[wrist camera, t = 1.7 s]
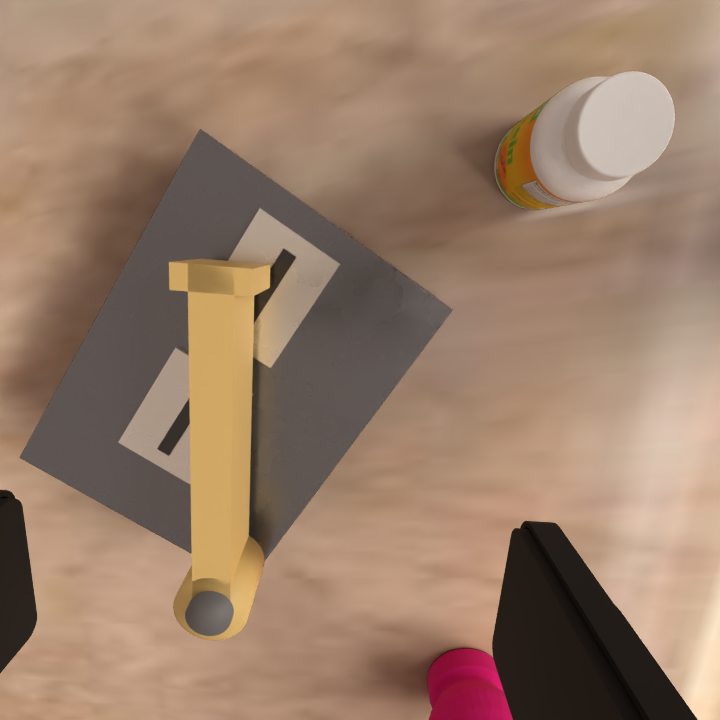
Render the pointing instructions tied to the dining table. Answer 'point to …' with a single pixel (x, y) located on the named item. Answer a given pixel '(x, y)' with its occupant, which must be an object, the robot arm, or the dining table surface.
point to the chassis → (270, 353)
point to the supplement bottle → (585, 141)
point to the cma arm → (220, 444)
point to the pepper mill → (466, 687)
